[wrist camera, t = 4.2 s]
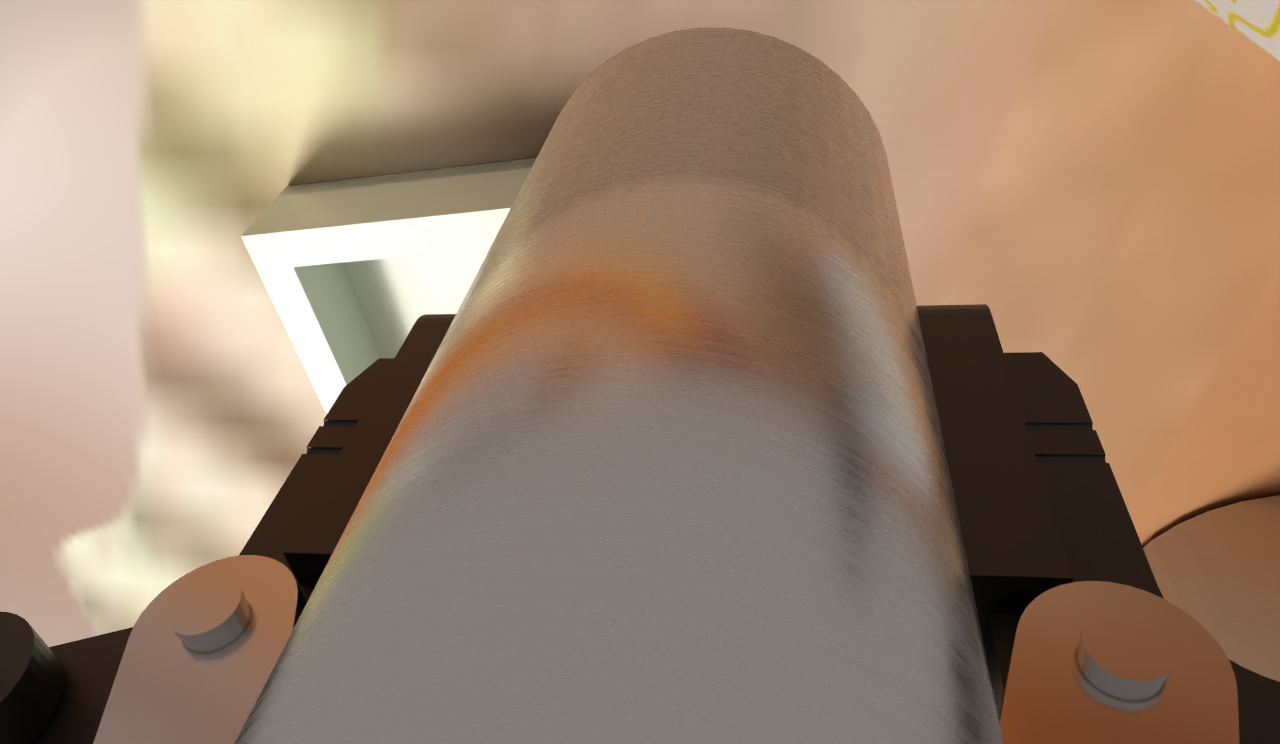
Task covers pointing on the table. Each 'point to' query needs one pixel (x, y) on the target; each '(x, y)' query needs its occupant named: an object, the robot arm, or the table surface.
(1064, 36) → the table surface
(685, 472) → the cylinder
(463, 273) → the tray
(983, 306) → the robot arm
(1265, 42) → the cup
